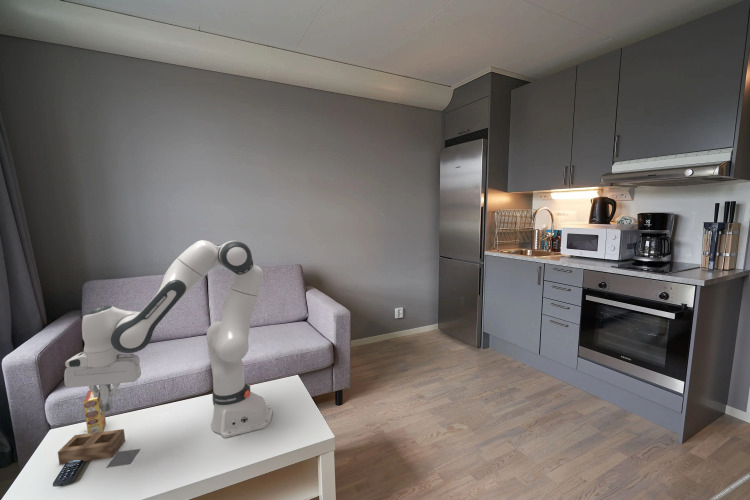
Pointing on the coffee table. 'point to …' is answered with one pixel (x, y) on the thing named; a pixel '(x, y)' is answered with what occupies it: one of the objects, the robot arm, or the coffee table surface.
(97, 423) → the candy box
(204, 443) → the coffee table surface
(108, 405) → the peg
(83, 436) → the socket block
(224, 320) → the robot arm
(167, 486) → the coffee table surface
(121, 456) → the mat
